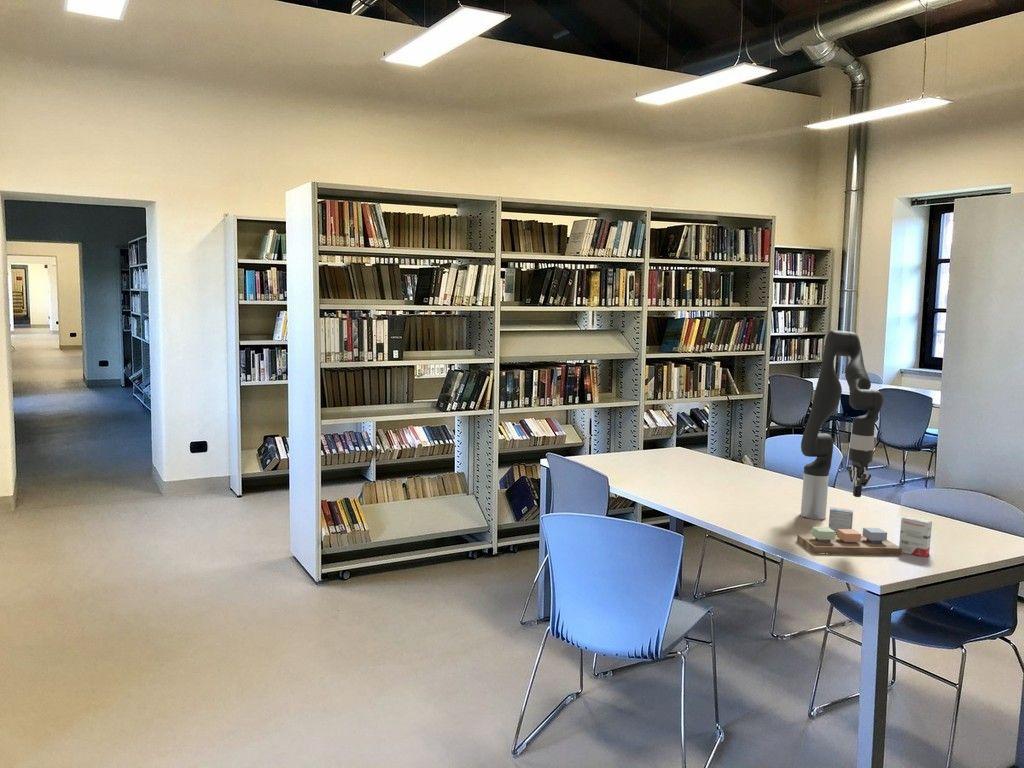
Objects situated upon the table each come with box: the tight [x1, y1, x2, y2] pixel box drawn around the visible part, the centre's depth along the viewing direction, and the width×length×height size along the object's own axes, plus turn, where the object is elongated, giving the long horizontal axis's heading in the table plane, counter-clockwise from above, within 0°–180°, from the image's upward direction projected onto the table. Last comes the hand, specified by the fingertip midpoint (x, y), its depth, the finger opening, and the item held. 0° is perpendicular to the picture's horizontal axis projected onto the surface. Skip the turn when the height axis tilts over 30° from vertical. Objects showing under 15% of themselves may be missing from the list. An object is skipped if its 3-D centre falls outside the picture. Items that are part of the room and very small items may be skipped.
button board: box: [796, 534, 903, 556], centre depth 271 cm, size 14×30×4 cm, turn 92°
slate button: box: [862, 527, 888, 541], centre depth 271 cm, size 6×6×3 cm
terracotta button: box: [836, 528, 862, 542], centre depth 271 cm, size 6×6×3 cm
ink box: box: [898, 516, 933, 558], centre depth 267 cm, size 8×5×12 cm, turn 47°
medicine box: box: [828, 506, 854, 534], centre depth 290 cm, size 8×4×9 cm, turn 66°
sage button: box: [811, 526, 836, 540], centre depth 270 cm, size 6×6×3 cm
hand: (856, 496), depth 272 cm, fingers closed
